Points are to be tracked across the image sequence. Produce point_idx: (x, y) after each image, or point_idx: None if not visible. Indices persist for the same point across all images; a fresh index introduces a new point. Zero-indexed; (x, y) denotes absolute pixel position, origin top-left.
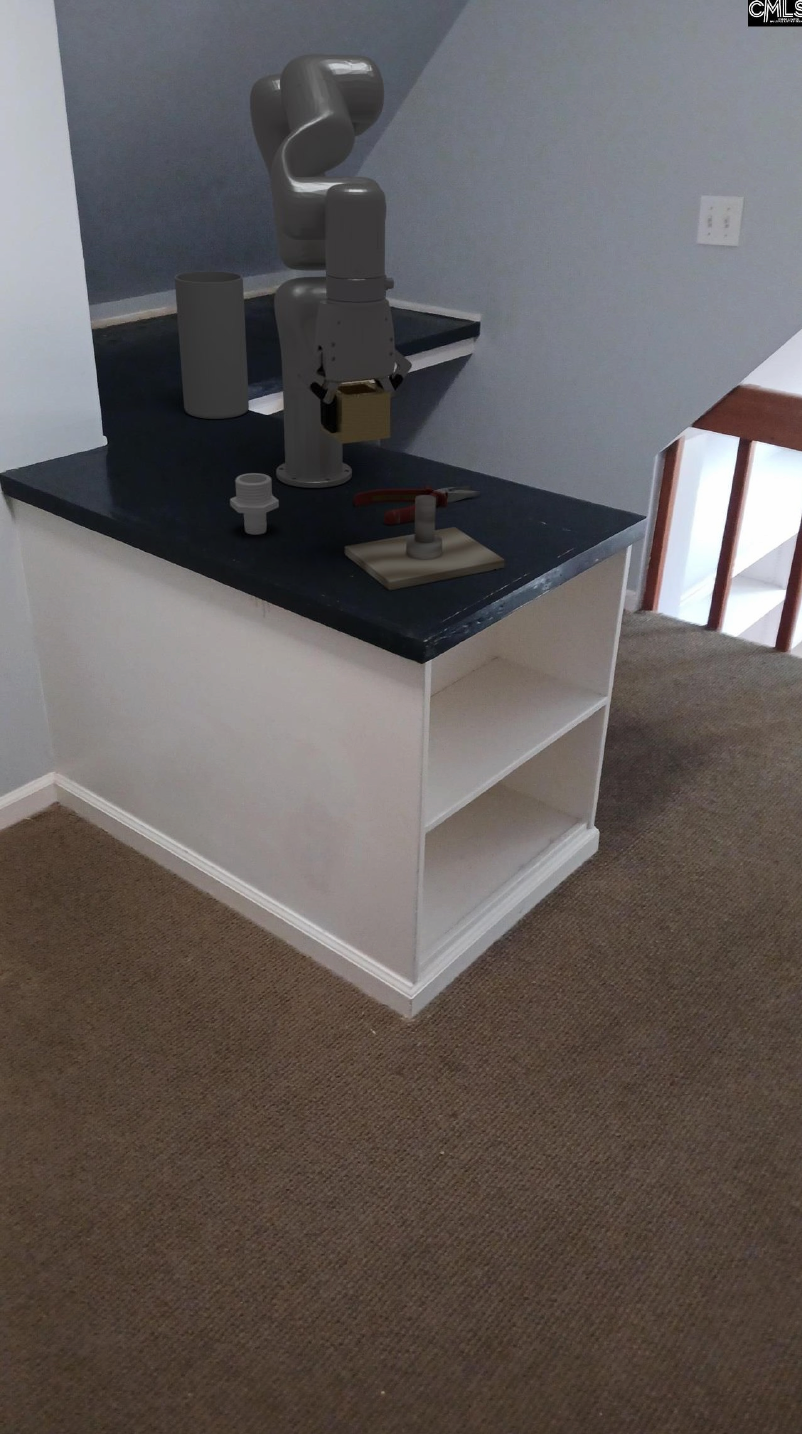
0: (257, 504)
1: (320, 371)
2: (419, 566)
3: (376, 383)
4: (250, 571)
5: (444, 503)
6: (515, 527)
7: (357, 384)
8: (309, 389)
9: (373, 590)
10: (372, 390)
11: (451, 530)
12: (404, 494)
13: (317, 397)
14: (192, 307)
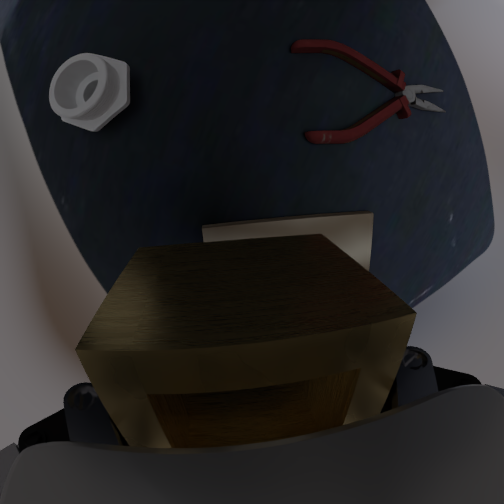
0: (86, 120)
1: (42, 452)
2: None
3: (392, 400)
4: (75, 241)
5: (402, 117)
6: (428, 216)
7: (322, 373)
8: (32, 425)
9: None
10: (337, 425)
11: (364, 223)
12: (368, 69)
13: (72, 389)
14: None
